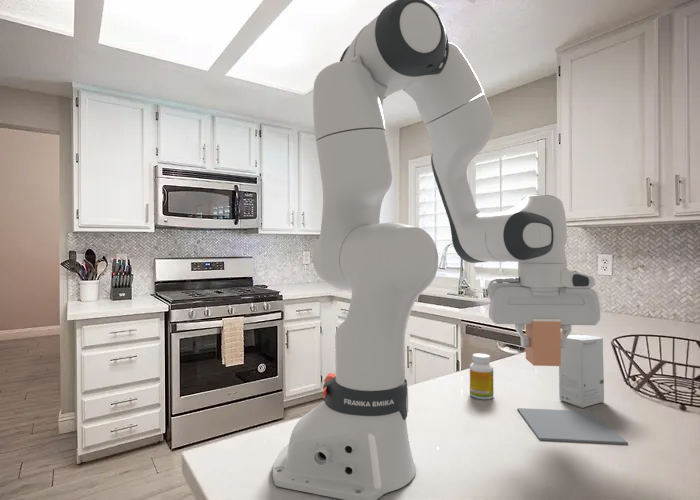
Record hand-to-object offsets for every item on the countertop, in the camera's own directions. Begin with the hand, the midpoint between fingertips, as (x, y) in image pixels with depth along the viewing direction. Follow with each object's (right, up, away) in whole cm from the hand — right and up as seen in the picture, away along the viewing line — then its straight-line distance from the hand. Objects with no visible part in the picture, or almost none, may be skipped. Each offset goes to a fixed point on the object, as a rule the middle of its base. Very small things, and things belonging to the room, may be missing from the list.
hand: (542, 346), depth 81 cm
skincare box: (+15, -16, +12) cm, 25 cm away
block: (0, -3, 0) cm, 3 cm away
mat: (+5, -16, -1) cm, 16 cm away
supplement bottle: (-7, -16, +16) cm, 24 cm away
